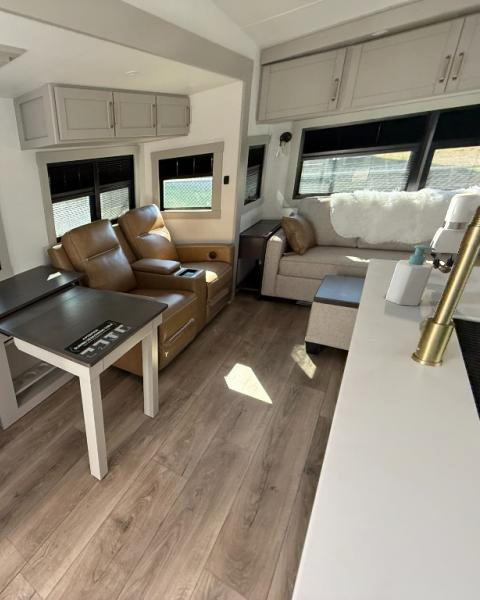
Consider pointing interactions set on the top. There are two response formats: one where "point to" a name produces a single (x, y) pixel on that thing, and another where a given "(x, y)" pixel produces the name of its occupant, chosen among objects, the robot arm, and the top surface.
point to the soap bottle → (410, 279)
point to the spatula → (442, 267)
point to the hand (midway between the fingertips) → (441, 267)
